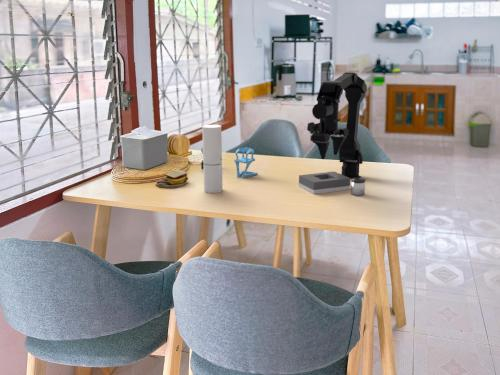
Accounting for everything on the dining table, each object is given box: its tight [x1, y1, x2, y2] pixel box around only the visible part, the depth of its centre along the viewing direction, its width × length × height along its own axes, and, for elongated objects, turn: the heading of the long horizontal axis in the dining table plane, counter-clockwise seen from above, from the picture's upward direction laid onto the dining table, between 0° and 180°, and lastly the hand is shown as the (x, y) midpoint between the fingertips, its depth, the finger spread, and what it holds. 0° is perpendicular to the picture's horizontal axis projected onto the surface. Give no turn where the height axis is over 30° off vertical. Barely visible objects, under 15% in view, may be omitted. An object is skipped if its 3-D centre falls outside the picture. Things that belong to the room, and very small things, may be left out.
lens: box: [350, 177, 366, 197], centre depth 205 cm, size 5×5×6 cm
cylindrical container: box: [201, 124, 223, 194], centre depth 209 cm, size 7×7×25 cm
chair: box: [234, 146, 258, 179], centre depth 233 cm, size 8×8×12 cm
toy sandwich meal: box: [155, 169, 189, 189], centre depth 221 cm, size 12×14×5 cm
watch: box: [200, 146, 204, 170], centre depth 247 cm, size 6×8×11 cm
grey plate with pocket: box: [298, 171, 351, 195], centre depth 214 cm, size 16×12×4 cm
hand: (329, 156), depth 208 cm, fingers open, 9 cm apart
